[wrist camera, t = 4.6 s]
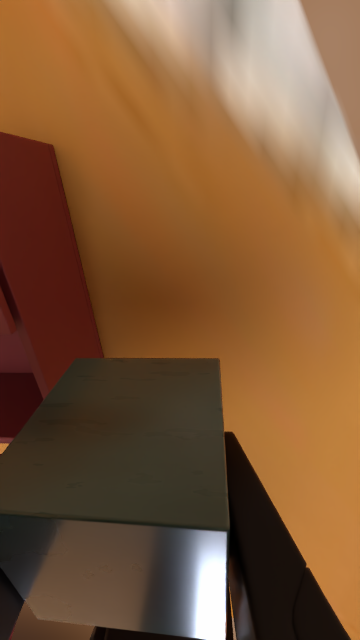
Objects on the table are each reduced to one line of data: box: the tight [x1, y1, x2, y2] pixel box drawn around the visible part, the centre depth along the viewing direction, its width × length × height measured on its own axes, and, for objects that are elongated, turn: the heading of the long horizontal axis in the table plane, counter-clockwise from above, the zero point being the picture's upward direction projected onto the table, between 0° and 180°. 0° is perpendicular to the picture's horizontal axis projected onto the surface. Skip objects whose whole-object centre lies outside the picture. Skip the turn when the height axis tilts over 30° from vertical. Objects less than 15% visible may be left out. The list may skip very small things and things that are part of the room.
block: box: [0, 358, 230, 640], centre depth 7 cm, size 4×4×4 cm
